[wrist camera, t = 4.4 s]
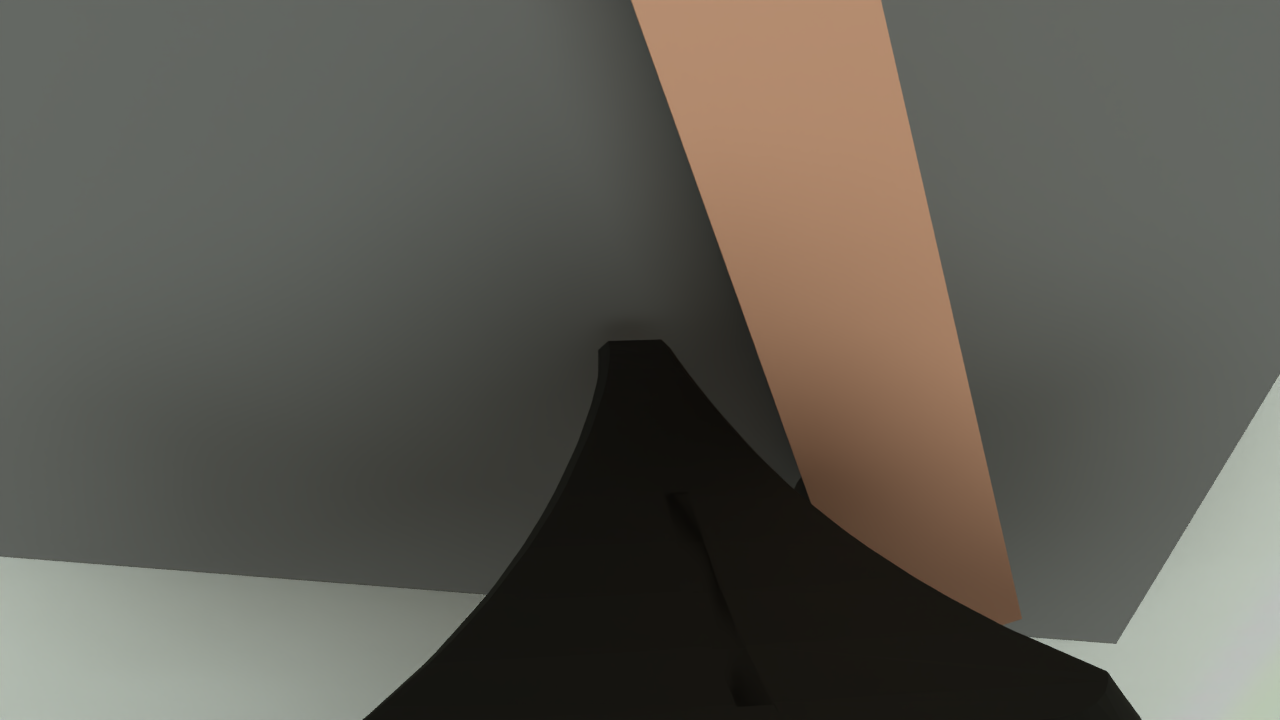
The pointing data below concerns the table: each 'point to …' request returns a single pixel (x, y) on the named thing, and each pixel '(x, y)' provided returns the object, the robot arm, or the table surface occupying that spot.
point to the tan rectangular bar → (838, 273)
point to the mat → (589, 274)
